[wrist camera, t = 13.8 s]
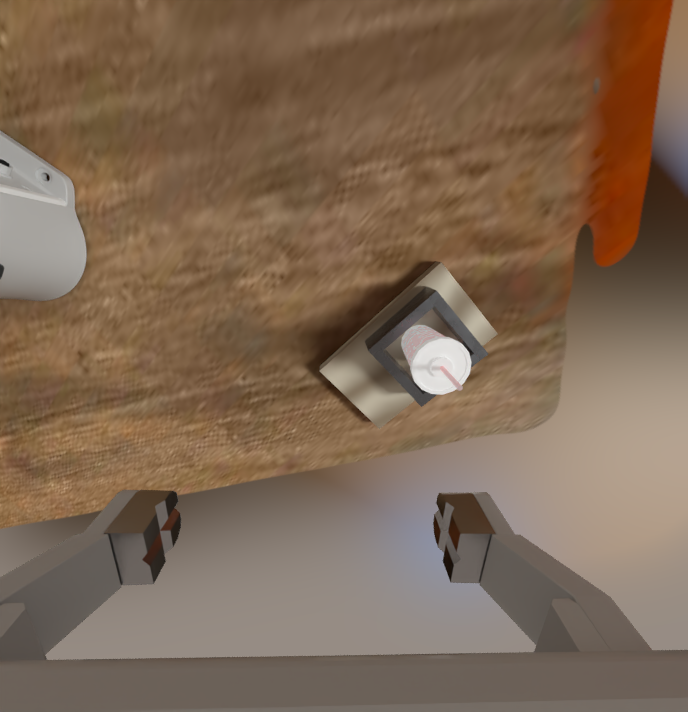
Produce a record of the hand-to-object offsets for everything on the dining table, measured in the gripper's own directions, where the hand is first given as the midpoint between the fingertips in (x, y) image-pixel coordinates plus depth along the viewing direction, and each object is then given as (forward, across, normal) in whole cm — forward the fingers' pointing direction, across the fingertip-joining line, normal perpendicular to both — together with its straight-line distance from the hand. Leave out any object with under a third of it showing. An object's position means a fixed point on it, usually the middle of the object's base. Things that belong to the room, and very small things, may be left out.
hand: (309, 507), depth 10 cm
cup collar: (+31, -12, +3) cm, 34 cm away
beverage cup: (+31, -12, +3) cm, 34 cm away
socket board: (+33, -11, +5) cm, 35 cm away
